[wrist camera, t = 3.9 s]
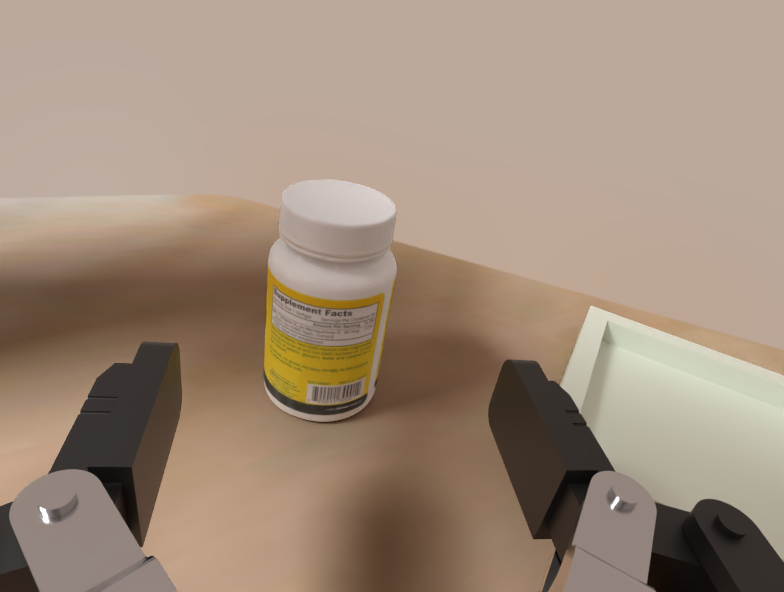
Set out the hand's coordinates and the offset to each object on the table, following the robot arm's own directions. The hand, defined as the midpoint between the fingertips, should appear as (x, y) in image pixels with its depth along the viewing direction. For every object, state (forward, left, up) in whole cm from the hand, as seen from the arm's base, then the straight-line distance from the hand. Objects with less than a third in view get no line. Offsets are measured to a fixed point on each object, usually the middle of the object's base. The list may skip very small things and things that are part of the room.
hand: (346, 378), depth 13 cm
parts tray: (+11, +12, -7) cm, 17 cm away
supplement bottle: (-4, +6, -7) cm, 10 cm away
